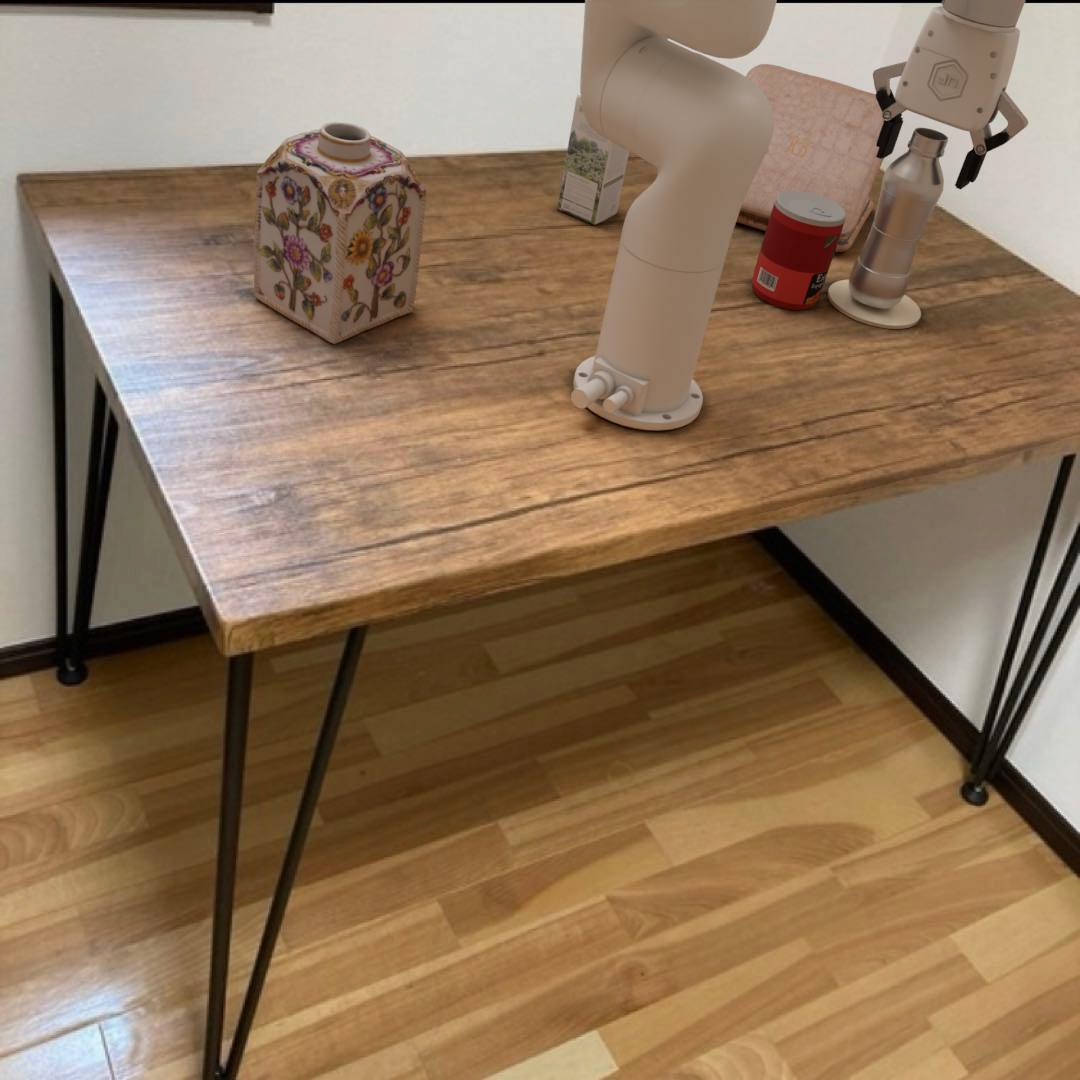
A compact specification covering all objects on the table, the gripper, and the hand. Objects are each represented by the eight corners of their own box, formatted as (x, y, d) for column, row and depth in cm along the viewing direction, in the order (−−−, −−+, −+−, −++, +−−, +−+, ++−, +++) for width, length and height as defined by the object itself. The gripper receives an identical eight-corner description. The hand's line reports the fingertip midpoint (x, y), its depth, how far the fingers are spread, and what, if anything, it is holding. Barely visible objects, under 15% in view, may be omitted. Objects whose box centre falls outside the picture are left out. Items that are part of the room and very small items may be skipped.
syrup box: (618, 214, 154) (643, 97, 145) (593, 227, 150) (617, 108, 141) (579, 197, 156) (601, 82, 147) (554, 210, 152) (575, 91, 143)
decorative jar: (249, 298, 123) (253, 119, 112) (334, 267, 131) (345, 98, 120) (335, 349, 118) (347, 167, 107) (418, 313, 126) (437, 141, 115)
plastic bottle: (888, 321, 142) (952, 151, 129) (834, 299, 144) (892, 130, 132) (906, 303, 146) (970, 138, 134) (854, 282, 148) (911, 117, 136)
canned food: (816, 317, 140) (846, 227, 134) (747, 300, 141) (773, 209, 134) (818, 289, 147) (847, 201, 140) (752, 272, 147) (778, 184, 140)
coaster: (899, 339, 140) (900, 335, 139) (812, 301, 144) (813, 297, 143) (933, 309, 147) (934, 305, 147) (849, 273, 151) (850, 270, 151)
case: (688, 212, 158) (720, 86, 148) (734, 164, 174) (765, 47, 164) (843, 263, 154) (885, 136, 144) (875, 209, 170) (916, 91, 160)
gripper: (889, -16, 125) (837, 150, 136) (1055, 38, 119) (986, 208, 130) (916, -24, 131) (863, 136, 141) (1076, 26, 124) (1008, 190, 135)
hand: (922, 170), depth 135 cm, fingers open, 8 cm apart
